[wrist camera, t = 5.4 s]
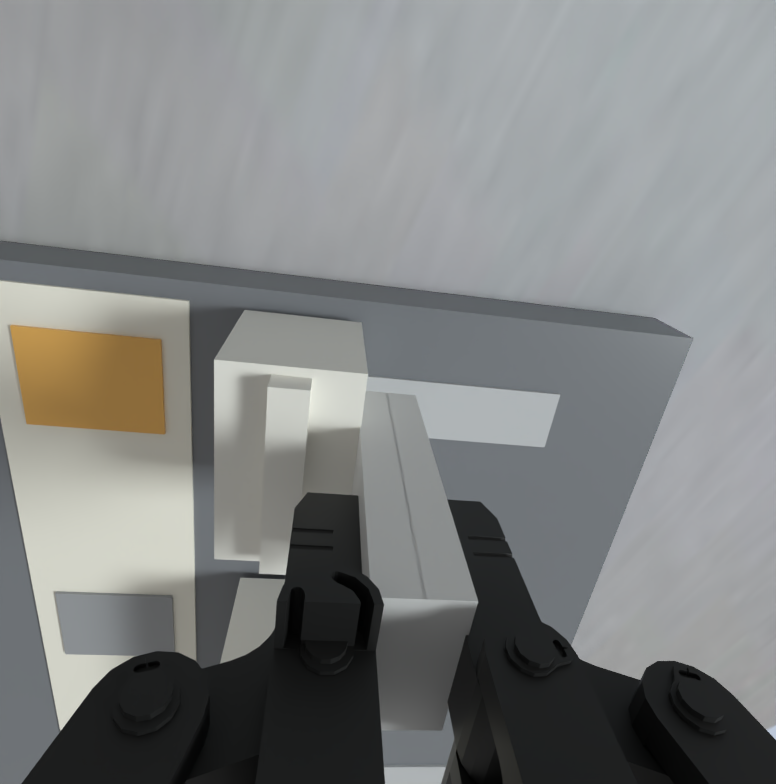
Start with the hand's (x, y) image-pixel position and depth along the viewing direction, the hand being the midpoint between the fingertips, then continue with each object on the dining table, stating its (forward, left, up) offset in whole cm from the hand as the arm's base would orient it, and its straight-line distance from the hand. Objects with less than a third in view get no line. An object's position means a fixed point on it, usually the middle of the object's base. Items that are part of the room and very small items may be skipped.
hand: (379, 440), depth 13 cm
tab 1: (+2, 0, -2) cm, 3 cm away
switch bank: (+2, +9, -4) cm, 10 cm away
